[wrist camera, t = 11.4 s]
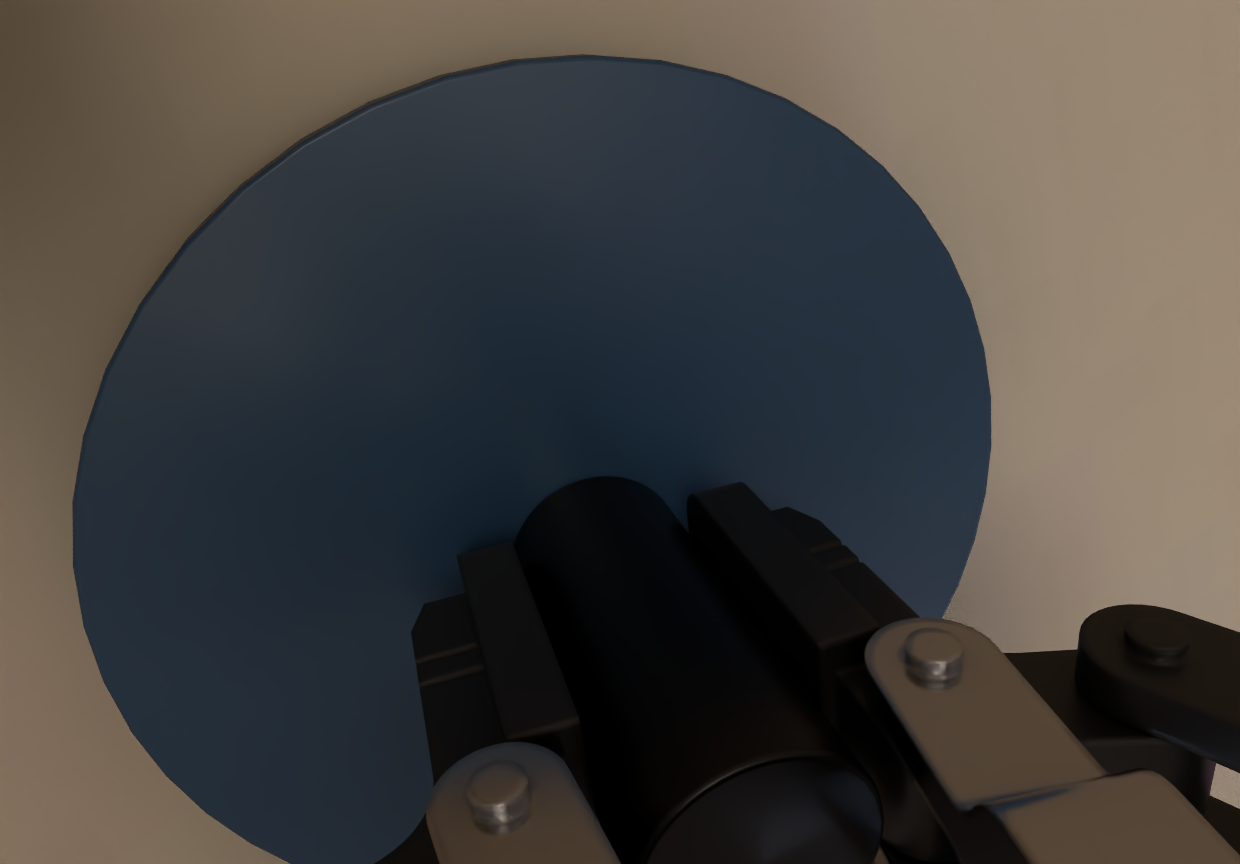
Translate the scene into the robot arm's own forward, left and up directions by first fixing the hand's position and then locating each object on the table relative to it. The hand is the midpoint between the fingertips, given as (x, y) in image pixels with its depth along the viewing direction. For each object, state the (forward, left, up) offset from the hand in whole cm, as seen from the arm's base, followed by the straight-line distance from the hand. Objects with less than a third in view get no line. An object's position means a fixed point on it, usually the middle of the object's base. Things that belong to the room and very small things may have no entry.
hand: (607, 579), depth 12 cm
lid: (0, 0, -1) cm, 1 cm away
